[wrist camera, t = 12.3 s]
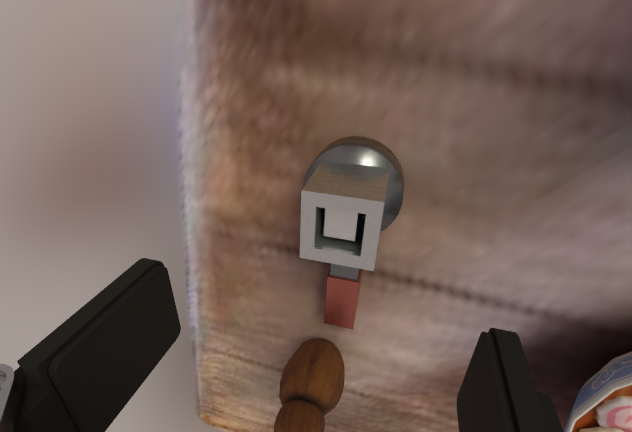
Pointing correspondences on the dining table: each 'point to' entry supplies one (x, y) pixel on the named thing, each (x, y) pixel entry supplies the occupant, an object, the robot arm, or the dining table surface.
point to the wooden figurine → (310, 387)
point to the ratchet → (354, 220)
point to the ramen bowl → (605, 400)
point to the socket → (346, 195)
